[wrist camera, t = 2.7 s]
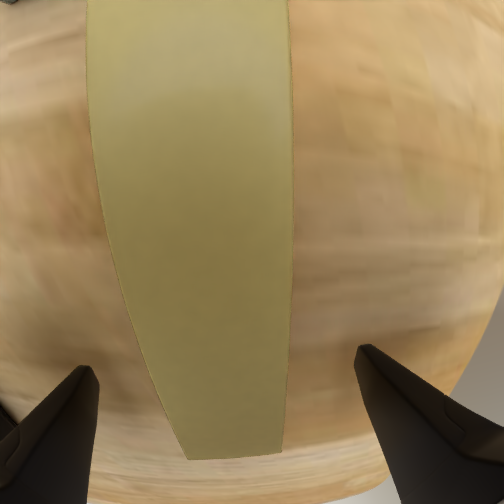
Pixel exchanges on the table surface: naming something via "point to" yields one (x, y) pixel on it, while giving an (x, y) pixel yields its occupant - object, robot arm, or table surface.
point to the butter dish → (8, 1)
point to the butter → (200, 205)
